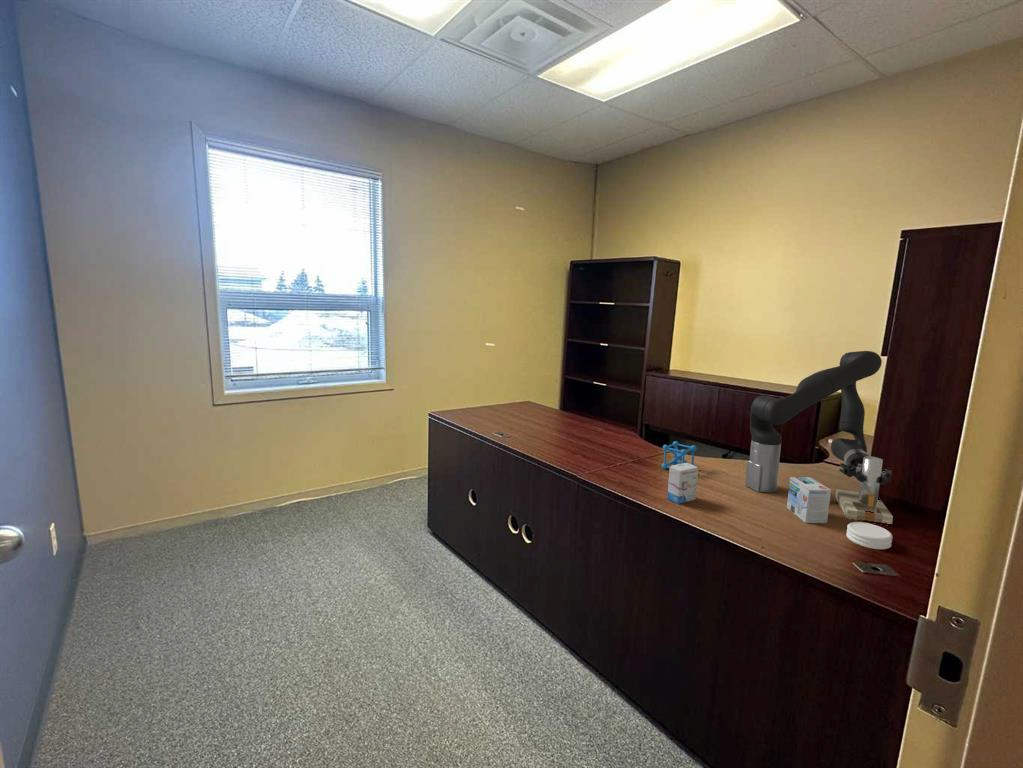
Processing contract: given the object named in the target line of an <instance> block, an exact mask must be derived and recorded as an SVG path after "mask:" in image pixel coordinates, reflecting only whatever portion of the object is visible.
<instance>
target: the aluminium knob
mask: <svg viewBox="0 0 1023 768" xmlns="http://www.w3.org/2000/svg"><path fill="white" fill-rule="evenodd" d="M883 460H884V459H882V458H879V457H877V456H876V457H875V456H871V455H870V456H865V457H864V459H863V467H862V474H863V475H864V482H860V481H859V482H860V484H859V491H858V492H859V498H858V501H859V502H861V503H863V504H867V505H868V506H870V507H873V505H877V500H878V497H879V491H880V477H881V470H883V469H882V468H883Z"/></svg>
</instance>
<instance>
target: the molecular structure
mask: <svg viewBox="0 0 1023 768" xmlns="http://www.w3.org/2000/svg"><path fill="white" fill-rule="evenodd" d="M672 447H674V448H672ZM678 447H684V448H686V449H684V448H683V449H679V448H678ZM662 450H664V457H663V463H662V464H661V468H662V469H663V470H666V469H670V467H671V466H672V465H677V464H683V463H689V462H688V461H687V460H685V456H686V455H687V454H688V453H690V452H691V464H692V465H694V466H696V464H694V462H695V461H694V460H695V451H697V446H696V445H694V444H693V445H691V446H690V445H685V444H681V443H679V442H678V441H676V440H675V441H673V442H672V444H669V445H667V444H663V446H662ZM667 451H668V452H670V453H671V454H672V455H673V458H672V460H671V461H669V462H667ZM670 465H671V466H670Z"/></svg>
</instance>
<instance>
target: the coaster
mask: <svg viewBox="0 0 1023 768" xmlns="http://www.w3.org/2000/svg"><path fill="white" fill-rule="evenodd" d="M846 527H847V529H846V534H845V535H846V538H847V539H848V540H849V541H850V542H852V543H854V544H856V545H858V544H859V545H858V546H862V547H864V548H868V549H873V550H887V549H890V548H891V547H892V542H893V534H892V533H891V532H890V531H889V530H887V529H885V528H884V527H881V526H879V525H878V524H876V525H875V524H874V523H870V522H863V521H856V522H855V521H854V522H850V523H848V524H847V526H846Z"/></svg>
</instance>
